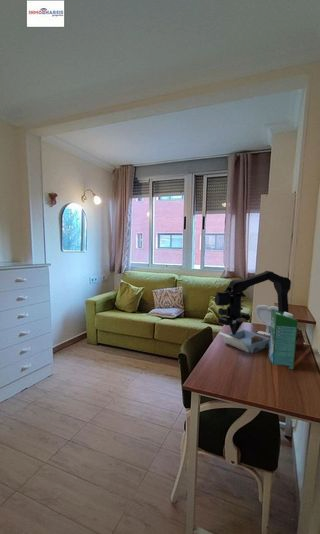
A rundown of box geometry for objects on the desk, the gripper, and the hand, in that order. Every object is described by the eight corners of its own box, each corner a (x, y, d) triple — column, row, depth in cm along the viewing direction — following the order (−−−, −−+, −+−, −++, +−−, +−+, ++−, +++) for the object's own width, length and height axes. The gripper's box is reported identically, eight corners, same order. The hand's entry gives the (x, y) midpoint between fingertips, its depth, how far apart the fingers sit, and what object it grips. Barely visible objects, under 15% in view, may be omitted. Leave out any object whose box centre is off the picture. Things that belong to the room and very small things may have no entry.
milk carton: (293, 369, 112) (298, 315, 110) (272, 367, 114) (276, 313, 112) (287, 360, 121) (291, 310, 119) (268, 358, 123) (271, 308, 120)
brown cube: (262, 345, 134) (263, 337, 134) (259, 348, 131) (259, 339, 131) (254, 343, 137) (255, 335, 137) (250, 345, 134) (251, 337, 134)
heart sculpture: (253, 332, 159) (255, 305, 157) (254, 330, 163) (256, 303, 161) (280, 337, 151) (282, 308, 149) (281, 335, 155) (283, 306, 154)
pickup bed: (271, 349, 134) (272, 339, 133) (253, 356, 124) (254, 345, 124) (241, 337, 149) (242, 328, 149) (223, 343, 140) (224, 334, 139)
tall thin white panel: (249, 350, 126) (242, 340, 122) (247, 352, 126) (241, 342, 121) (227, 341, 137) (220, 331, 133) (225, 343, 137) (219, 333, 133)
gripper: (234, 299, 139) (232, 327, 141) (210, 304, 128) (209, 333, 130) (251, 304, 130) (249, 333, 132) (228, 308, 119) (226, 340, 121)
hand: (233, 334), depth 129 cm, fingers closed
